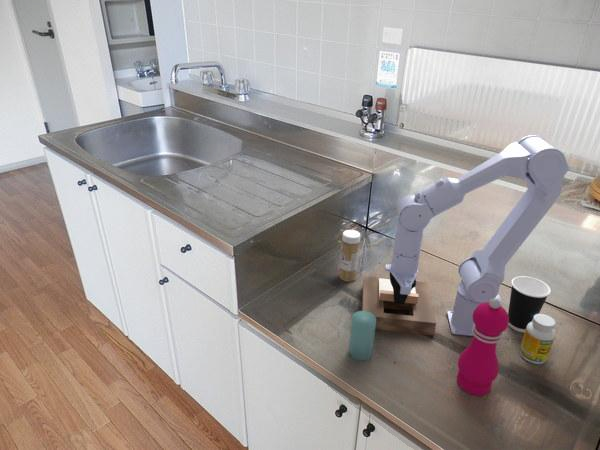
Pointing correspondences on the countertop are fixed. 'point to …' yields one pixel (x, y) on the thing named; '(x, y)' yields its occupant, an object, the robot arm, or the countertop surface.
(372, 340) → the peg
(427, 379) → the countertop surface
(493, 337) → the pepper mill
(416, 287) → the socket block
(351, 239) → the sprinkles bottle
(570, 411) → the countertop surface
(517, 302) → the dixie cup
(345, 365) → the countertop surface
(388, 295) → the panel
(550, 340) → the supplement bottle
